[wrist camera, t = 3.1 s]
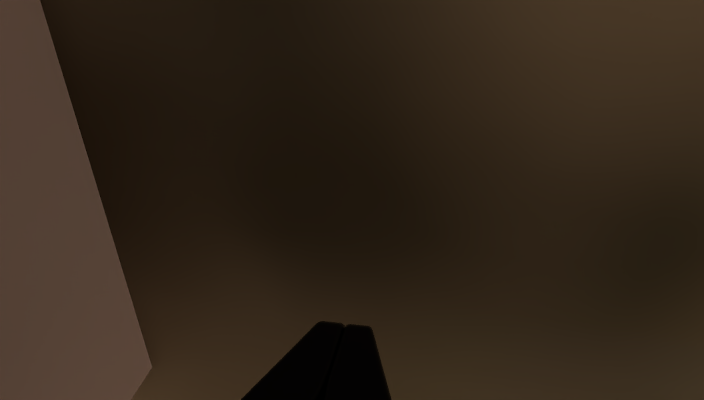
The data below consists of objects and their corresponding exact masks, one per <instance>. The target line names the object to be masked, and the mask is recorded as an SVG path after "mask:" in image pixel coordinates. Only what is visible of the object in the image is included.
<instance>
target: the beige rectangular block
mask: <svg viewBox="0 0 704 400" xmlns="http://www.w3.org/2000/svg"><path fill="white" fill-rule="evenodd" d="M151 368H152V365H151V362H150V359H149V355H148V352H147V349H146V346H145V342H144V339H143V336H142V332H141V329H140V326H139V323H138V319H137V316H136V313H135V310H134V306H133V303H132V300H131V296H130V293H129V290H128V287H127V283H126V280H125V277H124V274H123V270H122V267H121V264H120V260H119V257H118V254H117V251H116V247H115V244H114V241H113V238H112V234H111V231H110V228H109V224H108V221H107V218H106V215H105V211H104V208H103V205H102V202H101V198H100V195H99V192H98V188H97V185H96V182H95V179H94V175H93V172H92V169H91V165H90V162H89V159H88V156H87V152H86V149H85V146H84V143H83V139H82V136H81V133H80V129H79V126H78V123H77V120H76V116H75V113H74V110H73V107H72V103H71V100H70V97H69V93H68V90H67V87H66V84H65V80H64V77H63V74H62V71H61V67H60V64H59V61H58V57H57V54H56V51H55V48H54V44H53V41H52V38H51V35H50V31H49V28H48V25H47V21H46V18H45V15H44V12H43V8H42V5H41V2H40V0H0V400H131V399H132V397H133V396H134V394H135V393H136V391H137V390H138V388H139V387H140V385H141V384H142V382H143V381H144V379H145V378H146V376H147V374H148V373H149V371H150V370H151Z"/></svg>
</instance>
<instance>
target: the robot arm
mask: <svg viewBox="0 0 704 400" xmlns="http://www.w3.org/2000/svg"><path fill="white" fill-rule="evenodd" d="M241 400H391V396H390V393H389V389H388V385H387V382H386V378H385V374H384V370H383V367H382V363H381V359H380V356H379V352H378V348H377V344H376V341H375V337H374V333H373V330H372V328H371V327H370V326H363V325H354V324H348V325H347V326H346V327H345V326H344V325H343V324H342V323H335V322H325V321H321V322H318V323H317V324H316V325H315V326H314V327H313V328H312V329H311V330H310V331H309V332H308V333H307V334H306V335H305V336H304V337H303V338H302V339H301V340H300V341H299V342H298V343H297V344H296V345H295V346H294V347H293V348H292V349H291V350H290V351H289V352H288V353H287V354H286V355H285V356H284V357H283V358H282V359H281V360H280V361H279V362H278V363H277V364H276V365H275V366H274V367H273V368H272V369H271V370H270V371H269V372H268V373H267V374H266V375H265V376H264V377H263V378H262V379H261V380H260V381H259V382H258V383H257V384H256V385H255V386H254V387H253V388H252V389H251V390H250V391H249V392H248V393H247V394H246V395H245V396H244V397H243V398H242V399H241Z"/></svg>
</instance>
